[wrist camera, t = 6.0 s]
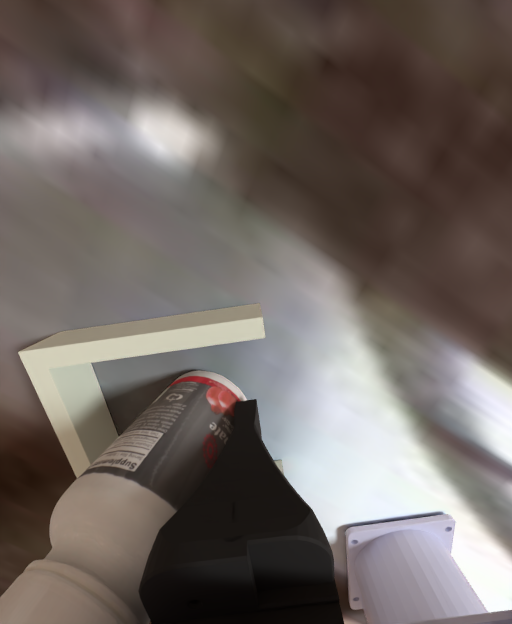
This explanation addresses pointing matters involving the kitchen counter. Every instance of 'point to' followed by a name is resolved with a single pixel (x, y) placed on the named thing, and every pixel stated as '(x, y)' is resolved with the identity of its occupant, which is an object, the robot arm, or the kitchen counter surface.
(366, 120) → the kitchen counter surface
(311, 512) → the robot arm
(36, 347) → the u-shaped bracket
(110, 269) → the kitchen counter surface
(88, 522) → the pill bottle
